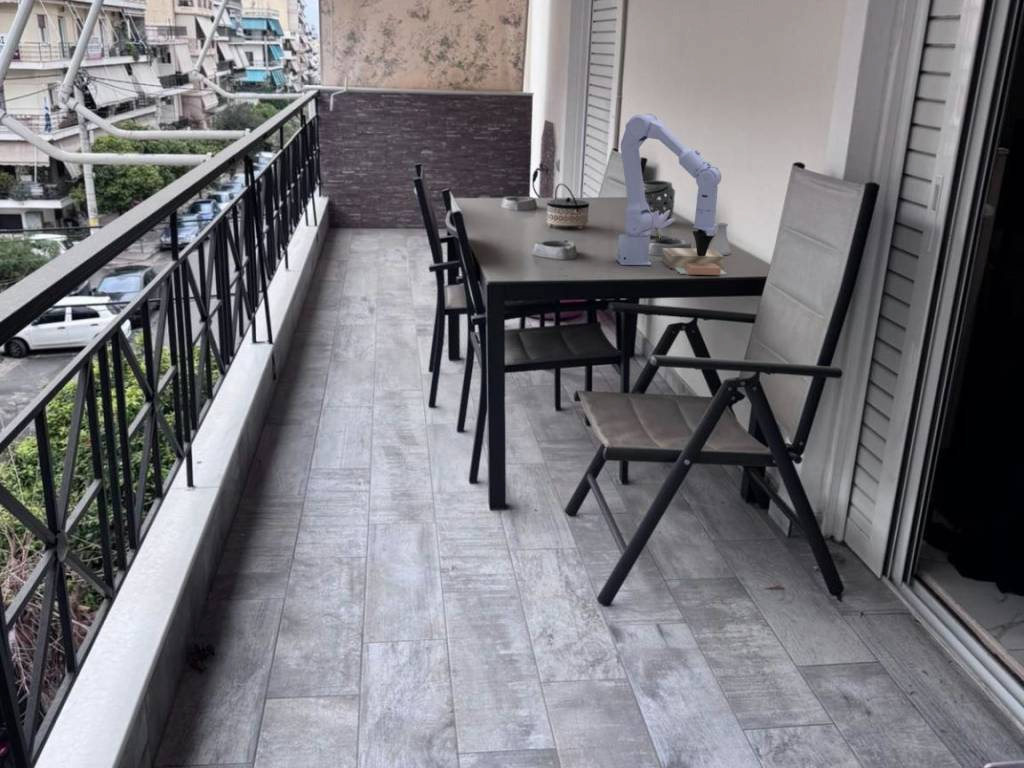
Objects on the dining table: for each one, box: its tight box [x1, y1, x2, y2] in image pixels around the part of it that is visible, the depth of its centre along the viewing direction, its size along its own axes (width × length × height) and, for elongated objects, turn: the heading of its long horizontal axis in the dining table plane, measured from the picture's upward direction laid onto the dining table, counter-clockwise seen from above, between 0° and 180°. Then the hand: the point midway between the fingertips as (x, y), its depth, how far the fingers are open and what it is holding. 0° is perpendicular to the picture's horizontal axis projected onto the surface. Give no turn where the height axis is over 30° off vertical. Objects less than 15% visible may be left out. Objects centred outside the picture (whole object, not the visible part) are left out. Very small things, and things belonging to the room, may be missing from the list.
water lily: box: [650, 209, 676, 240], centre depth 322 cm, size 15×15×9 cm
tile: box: [685, 263, 721, 276], centre depth 271 cm, size 9×6×2 cm, turn 95°
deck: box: [661, 247, 725, 271], centre depth 282 cm, size 16×12×4 cm
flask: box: [708, 222, 732, 256], centre depth 299 cm, size 7×7×10 cm
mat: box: [673, 267, 728, 276], centre depth 274 cm, size 14×8×1 cm, turn 94°
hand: (701, 255), depth 273 cm, fingers closed
